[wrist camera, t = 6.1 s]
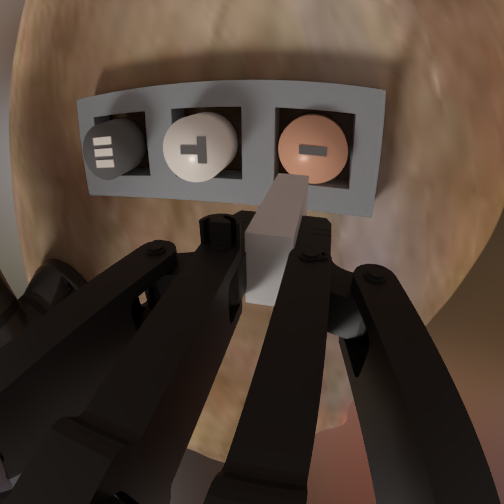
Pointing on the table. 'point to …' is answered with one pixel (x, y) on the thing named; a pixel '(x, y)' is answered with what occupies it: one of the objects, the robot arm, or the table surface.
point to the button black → (114, 148)
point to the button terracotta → (313, 147)
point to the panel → (244, 140)
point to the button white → (200, 146)
